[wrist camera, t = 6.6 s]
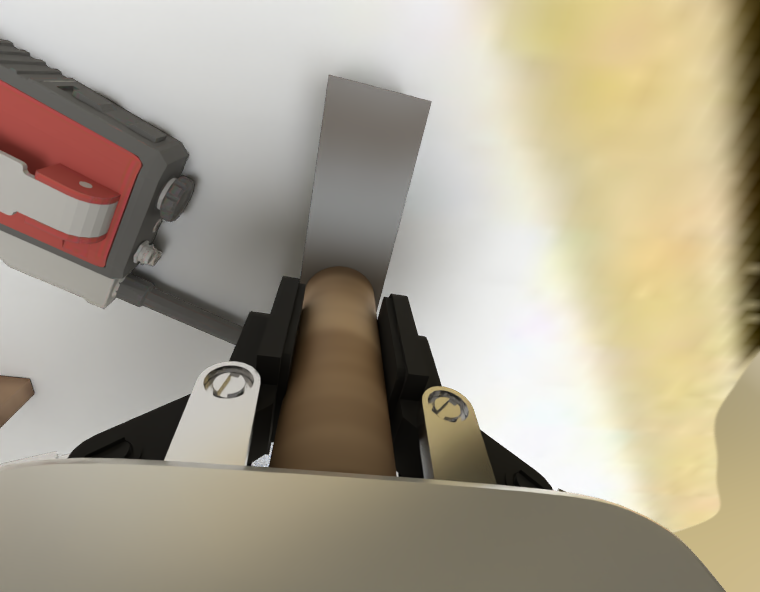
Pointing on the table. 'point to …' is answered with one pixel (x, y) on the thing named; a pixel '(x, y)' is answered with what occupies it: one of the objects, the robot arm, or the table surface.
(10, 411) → the dock
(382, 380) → the scraper
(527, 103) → the table surface
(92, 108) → the walkie-talkie
